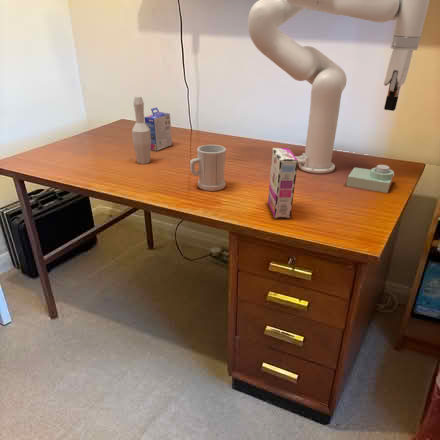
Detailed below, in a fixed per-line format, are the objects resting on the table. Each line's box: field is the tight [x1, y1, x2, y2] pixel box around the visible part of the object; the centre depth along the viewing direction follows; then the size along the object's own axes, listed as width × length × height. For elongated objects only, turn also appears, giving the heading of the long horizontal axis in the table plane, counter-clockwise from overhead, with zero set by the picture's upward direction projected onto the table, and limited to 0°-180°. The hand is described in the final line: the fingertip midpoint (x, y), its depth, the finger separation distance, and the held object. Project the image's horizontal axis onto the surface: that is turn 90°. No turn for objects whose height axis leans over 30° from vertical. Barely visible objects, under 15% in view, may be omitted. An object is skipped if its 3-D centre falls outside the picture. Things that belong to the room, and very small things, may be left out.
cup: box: [189, 144, 227, 192], centre depth 136 cm, size 10×9×12 cm
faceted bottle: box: [131, 95, 152, 165], centre depth 153 cm, size 6×6×22 cm
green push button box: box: [345, 166, 395, 194], centre depth 141 cm, size 13×10×5 cm
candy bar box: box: [267, 147, 299, 219], centre depth 120 cm, size 11×5×16 cm, turn 5°
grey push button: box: [375, 164, 391, 173], centre depth 139 cm, size 4×4×2 cm
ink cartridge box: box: [144, 107, 173, 152], centre depth 170 cm, size 10×6×14 cm, turn 148°
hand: (389, 109), depth 138 cm, fingers closed
